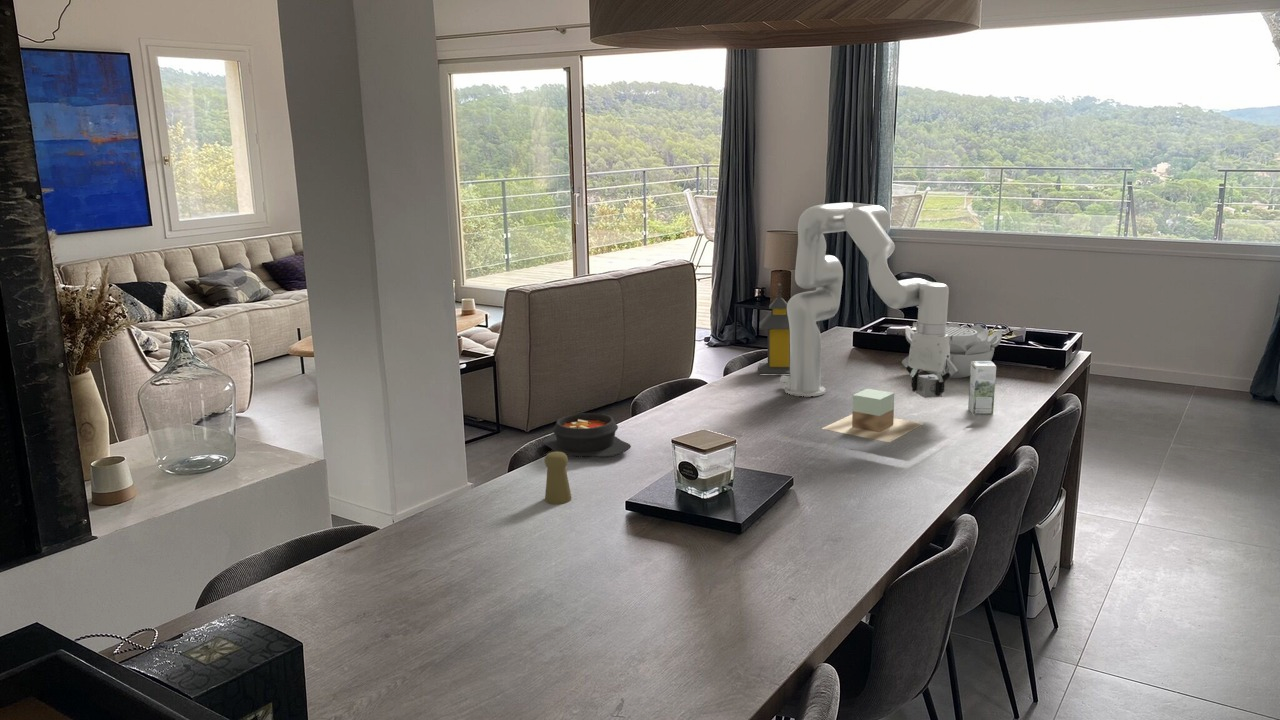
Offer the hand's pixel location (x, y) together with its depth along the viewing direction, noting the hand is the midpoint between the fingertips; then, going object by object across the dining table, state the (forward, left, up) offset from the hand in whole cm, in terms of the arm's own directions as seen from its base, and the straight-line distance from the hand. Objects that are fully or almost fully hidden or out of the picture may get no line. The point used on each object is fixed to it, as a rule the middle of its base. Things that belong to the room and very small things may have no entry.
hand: (927, 391), depth 258 cm
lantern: (-67, +28, -9) cm, 73 cm away
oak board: (-8, -15, -9) cm, 19 cm away
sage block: (-8, -15, -3) cm, 18 cm away
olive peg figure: (-41, -101, -9) cm, 110 cm away
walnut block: (-8, -15, -7) cm, 19 cm away
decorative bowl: (-17, +54, -9) cm, 57 cm away
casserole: (-60, -73, -9) cm, 95 cm away
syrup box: (+8, +19, -9) cm, 22 cm away
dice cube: (0, 0, -1) cm, 1 cm away
